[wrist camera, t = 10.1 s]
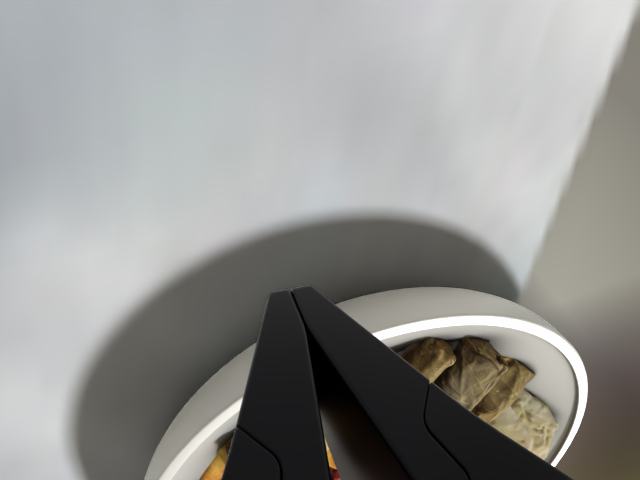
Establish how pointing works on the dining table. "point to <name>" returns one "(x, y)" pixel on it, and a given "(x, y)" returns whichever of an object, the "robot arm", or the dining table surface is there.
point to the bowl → (429, 359)
